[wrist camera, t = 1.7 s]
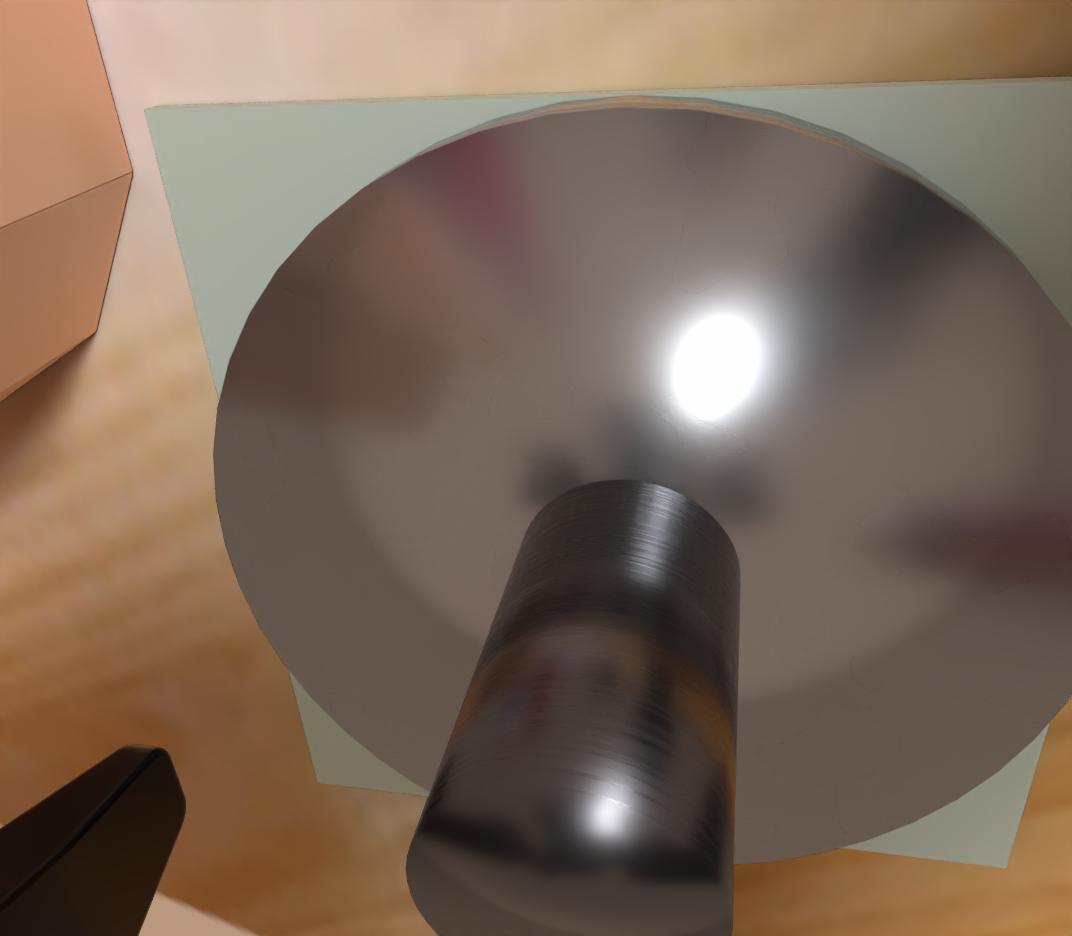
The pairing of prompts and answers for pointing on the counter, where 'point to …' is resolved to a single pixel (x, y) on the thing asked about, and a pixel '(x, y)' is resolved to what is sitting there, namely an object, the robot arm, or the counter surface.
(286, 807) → the counter surface
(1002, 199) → the mat
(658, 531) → the lid
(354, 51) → the counter surface
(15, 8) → the bowl
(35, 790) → the counter surface
